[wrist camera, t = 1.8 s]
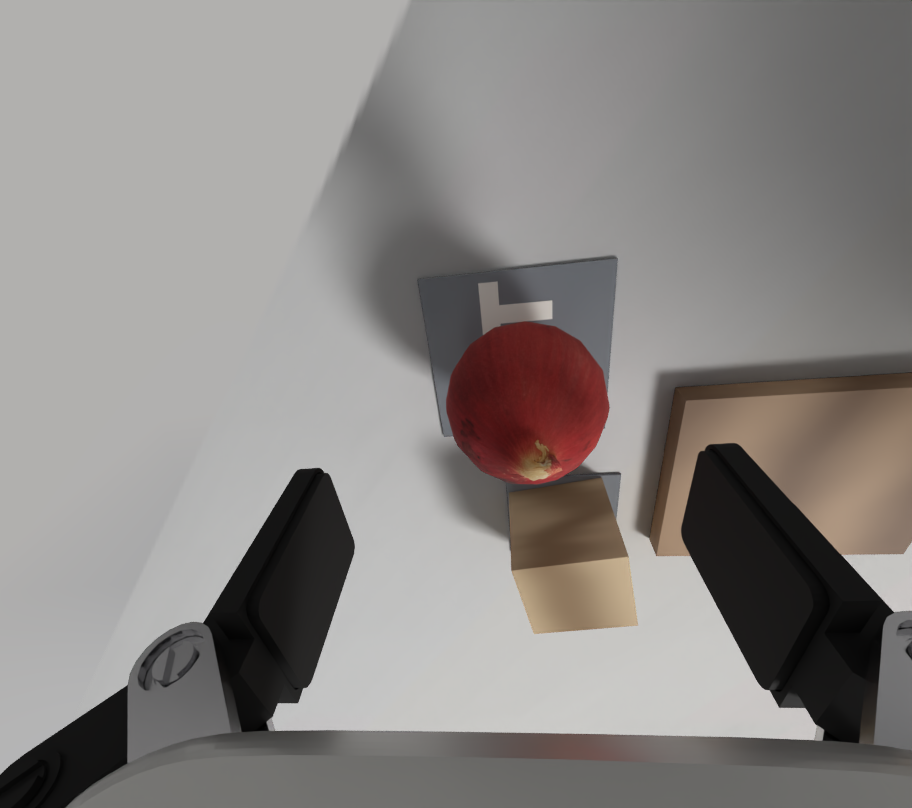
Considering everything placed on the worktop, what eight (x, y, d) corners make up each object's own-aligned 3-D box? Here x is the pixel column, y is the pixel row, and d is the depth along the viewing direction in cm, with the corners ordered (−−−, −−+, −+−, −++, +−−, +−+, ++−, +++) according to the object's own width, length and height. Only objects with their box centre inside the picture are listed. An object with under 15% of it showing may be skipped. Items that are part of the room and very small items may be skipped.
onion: (535, 432, 20) (557, 571, 13) (433, 380, 19) (400, 503, 12) (612, 337, 17) (690, 453, 10) (497, 270, 16) (500, 350, 9)
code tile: (616, 257, 16) (617, 258, 16) (603, 426, 20) (604, 428, 20) (418, 278, 17) (417, 279, 17) (444, 434, 21) (443, 436, 21)
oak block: (601, 477, 21) (628, 556, 17) (612, 541, 23) (637, 625, 19) (508, 492, 22) (511, 570, 18) (527, 552, 25) (533, 634, 20)
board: (983, 368, 17) (1014, 381, 16) (883, 535, 22) (903, 553, 21) (675, 387, 18) (685, 400, 17) (649, 538, 23) (656, 556, 22)
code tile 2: (620, 472, 21) (621, 475, 21) (611, 549, 24) (612, 552, 24) (505, 476, 22) (505, 479, 22) (511, 550, 25) (511, 553, 25)
